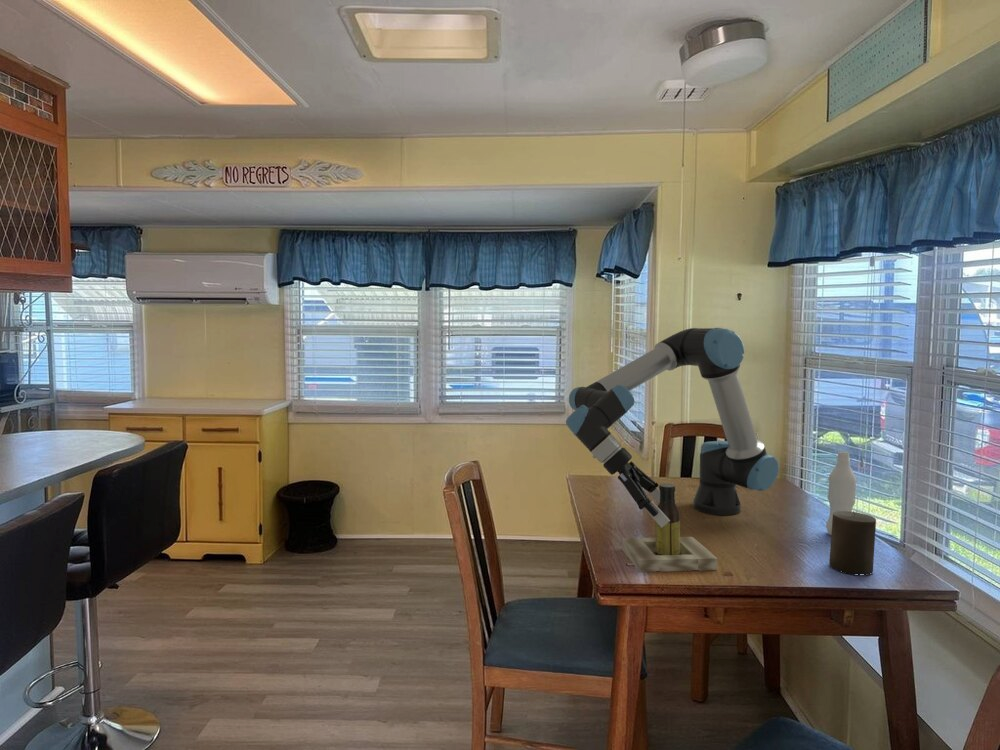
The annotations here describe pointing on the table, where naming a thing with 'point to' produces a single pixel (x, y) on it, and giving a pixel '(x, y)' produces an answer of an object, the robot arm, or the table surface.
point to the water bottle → (841, 487)
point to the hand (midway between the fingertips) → (668, 516)
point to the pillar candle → (852, 542)
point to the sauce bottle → (671, 531)
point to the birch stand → (668, 556)
